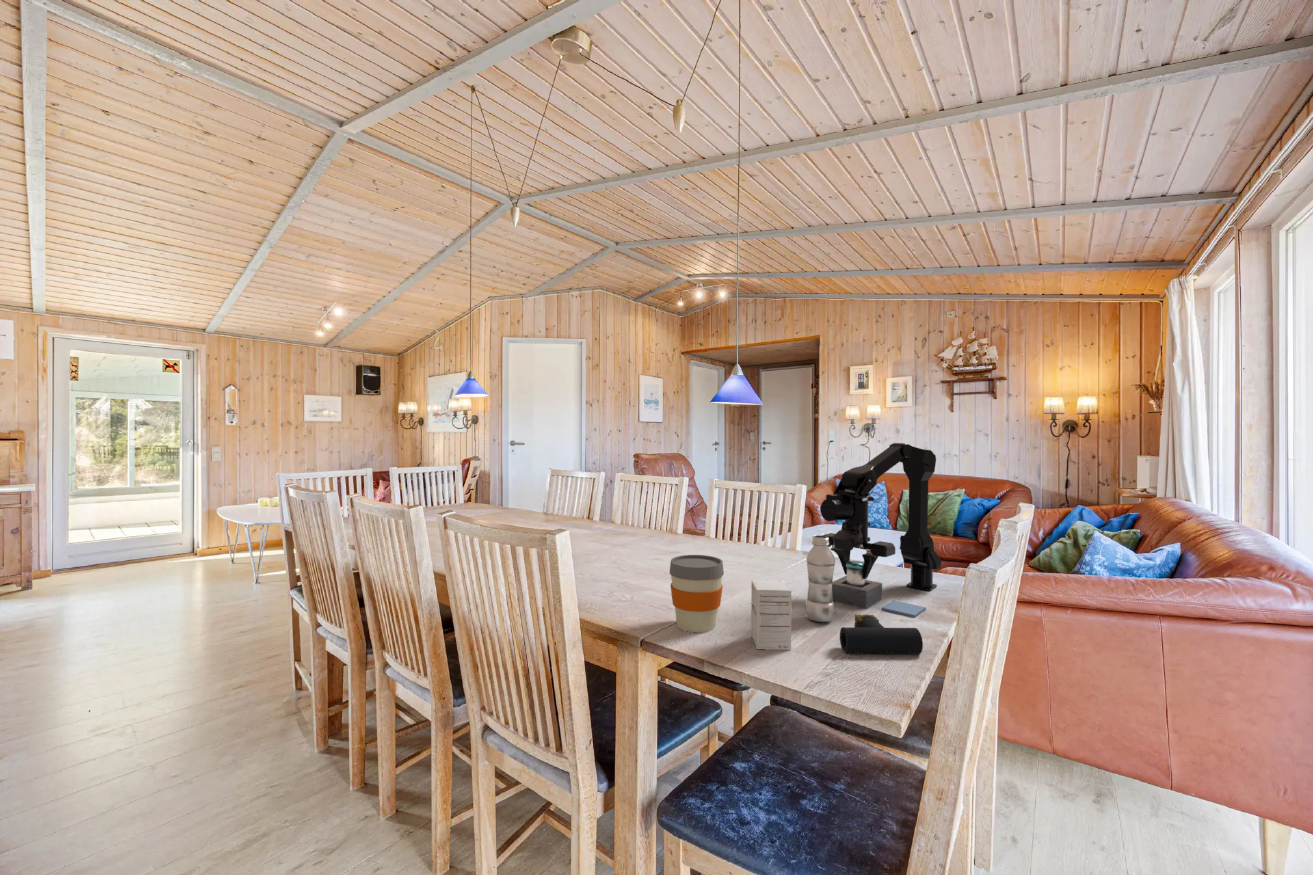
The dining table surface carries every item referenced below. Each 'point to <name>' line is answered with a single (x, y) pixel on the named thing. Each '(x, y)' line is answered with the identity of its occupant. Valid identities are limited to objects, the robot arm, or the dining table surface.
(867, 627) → the pipe connector
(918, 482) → the robot arm
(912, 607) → the mat
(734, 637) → the dining table surface
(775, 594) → the supplement box
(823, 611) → the plastic bottle
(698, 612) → the reusable coffee cup
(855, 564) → the green lidded jar
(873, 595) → the housing
